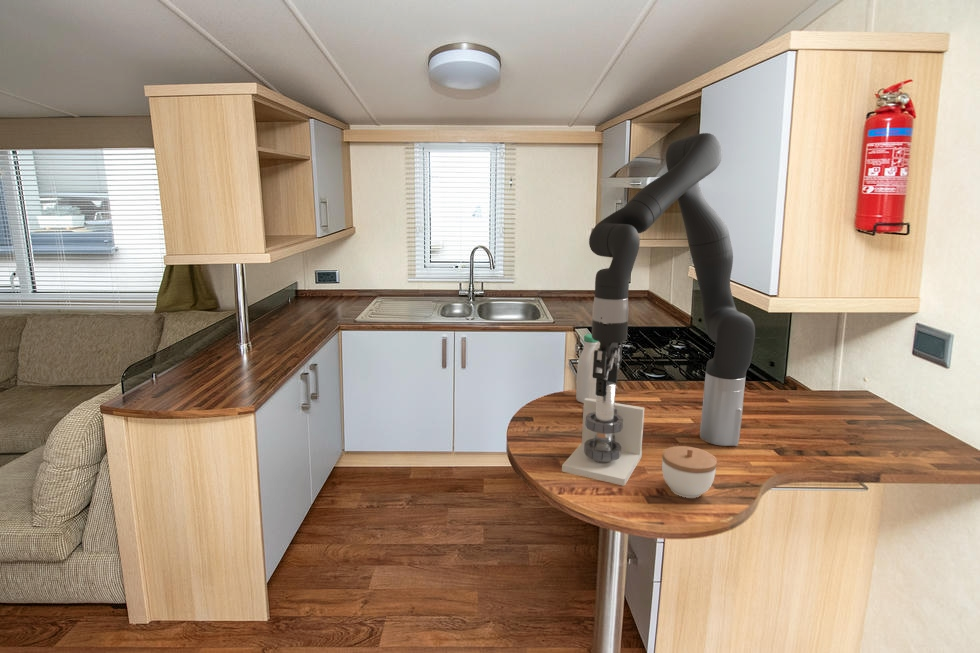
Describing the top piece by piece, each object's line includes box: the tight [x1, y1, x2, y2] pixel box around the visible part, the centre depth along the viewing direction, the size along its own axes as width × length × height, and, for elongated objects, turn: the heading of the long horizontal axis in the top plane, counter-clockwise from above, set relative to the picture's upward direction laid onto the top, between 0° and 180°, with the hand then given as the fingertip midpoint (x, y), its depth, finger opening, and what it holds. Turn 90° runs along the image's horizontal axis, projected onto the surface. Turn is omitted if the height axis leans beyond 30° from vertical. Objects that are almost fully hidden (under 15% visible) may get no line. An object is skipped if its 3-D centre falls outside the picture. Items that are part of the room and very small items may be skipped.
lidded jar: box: [661, 445, 718, 499], centre depth 121 cm, size 11×11×9 cm
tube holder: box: [561, 398, 645, 487], centre depth 133 cm, size 14×16×12 cm
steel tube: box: [594, 381, 617, 463], centre depth 131 cm, size 4×4×18 cm
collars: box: [584, 409, 623, 461], centre depth 133 cm, size 8×11×8 cm
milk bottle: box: [575, 333, 598, 404], centre depth 174 cm, size 8×8×20 cm
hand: (606, 389), depth 129 cm, fingers open, 8 cm apart
